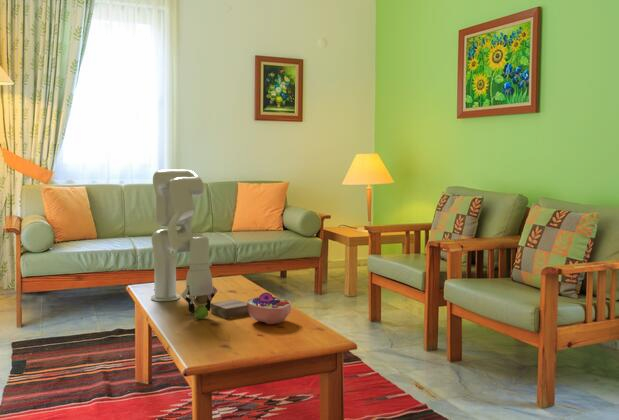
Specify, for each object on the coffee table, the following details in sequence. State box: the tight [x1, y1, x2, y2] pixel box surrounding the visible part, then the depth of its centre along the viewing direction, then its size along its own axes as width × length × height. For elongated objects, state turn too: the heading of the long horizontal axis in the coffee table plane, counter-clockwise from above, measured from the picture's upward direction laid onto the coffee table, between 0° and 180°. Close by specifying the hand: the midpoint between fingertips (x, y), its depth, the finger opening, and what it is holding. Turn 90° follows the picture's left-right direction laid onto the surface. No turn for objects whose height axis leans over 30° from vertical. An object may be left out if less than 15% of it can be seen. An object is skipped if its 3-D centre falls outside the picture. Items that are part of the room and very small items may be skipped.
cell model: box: [245, 292, 292, 325], centre depth 246 cm, size 17×20×11 cm
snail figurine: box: [193, 295, 209, 320], centre depth 250 cm, size 5×6×12 cm
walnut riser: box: [210, 299, 250, 320], centre depth 260 cm, size 12×12×4 cm
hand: (199, 311), depth 251 cm, fingers open, 6 cm apart
